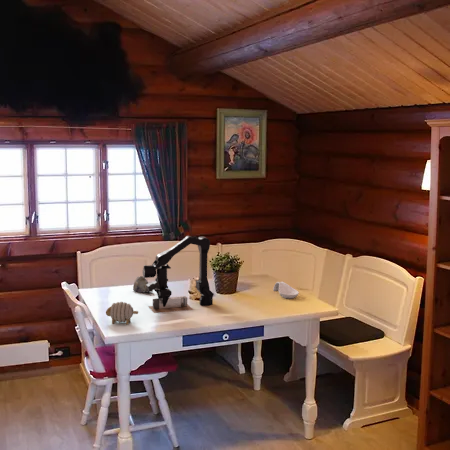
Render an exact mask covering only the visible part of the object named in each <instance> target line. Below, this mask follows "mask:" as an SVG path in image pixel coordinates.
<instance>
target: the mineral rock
mask: <svg viewBox="0 0 450 450" xmlns="http://www.w3.org/2000/svg"><path fill="white" fill-rule="evenodd" d="M149 283H150V282H148V279H147V278H143V275H141V276H136V279H135V280H134V283H133V286H132V287H133V289H132V290H133V292H137V293H138V292H139V293H153V291H154V290H152V291H149V290H148V289H147V286H146V285H147V284H149Z"/></svg>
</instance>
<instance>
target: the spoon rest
mask: <svg viewBox="0 0 450 450" xmlns="http://www.w3.org/2000/svg"><path fill="white" fill-rule="evenodd" d="M272 290H273V292H278V293H279V296H280V297H282V298H283V299H289V300H290V299H295V298H297V297H298V295H299V291H298V290H297V289H295V288H293V287H292V286H291V285H289V284H288V283H286V282H284V281H276V282H275V284H274V285H273V289H272Z"/></svg>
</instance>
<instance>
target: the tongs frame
mask: <svg viewBox="0 0 450 450" xmlns="http://www.w3.org/2000/svg"><path fill="white" fill-rule="evenodd" d="M181 297H184V306H185V307H186V306H187V304H188V297H187V296H186V295H185V296H175V297H174V296H172V297H171V296H170V297H169V298H181ZM156 299H162V298H158V297H157V298H152V301H153V300H156ZM152 306H153V308H154V303H153V302H152Z"/></svg>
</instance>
